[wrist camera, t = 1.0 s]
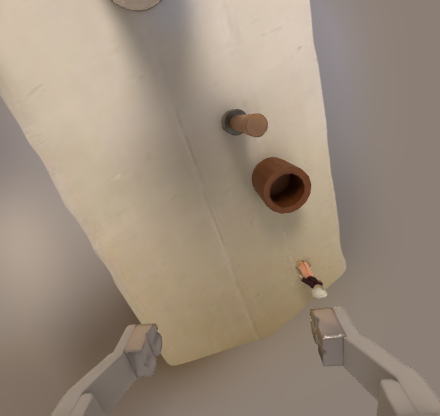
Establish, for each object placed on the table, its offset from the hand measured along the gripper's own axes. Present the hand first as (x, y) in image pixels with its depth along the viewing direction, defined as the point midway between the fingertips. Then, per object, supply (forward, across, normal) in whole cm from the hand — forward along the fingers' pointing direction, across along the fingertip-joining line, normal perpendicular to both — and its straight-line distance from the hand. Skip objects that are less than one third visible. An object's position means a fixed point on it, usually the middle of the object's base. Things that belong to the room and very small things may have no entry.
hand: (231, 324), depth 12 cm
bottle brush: (+45, -1, -10) cm, 46 cm away
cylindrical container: (+47, -8, +5) cm, 48 cm away
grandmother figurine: (+49, -14, +34) cm, 62 cm away
